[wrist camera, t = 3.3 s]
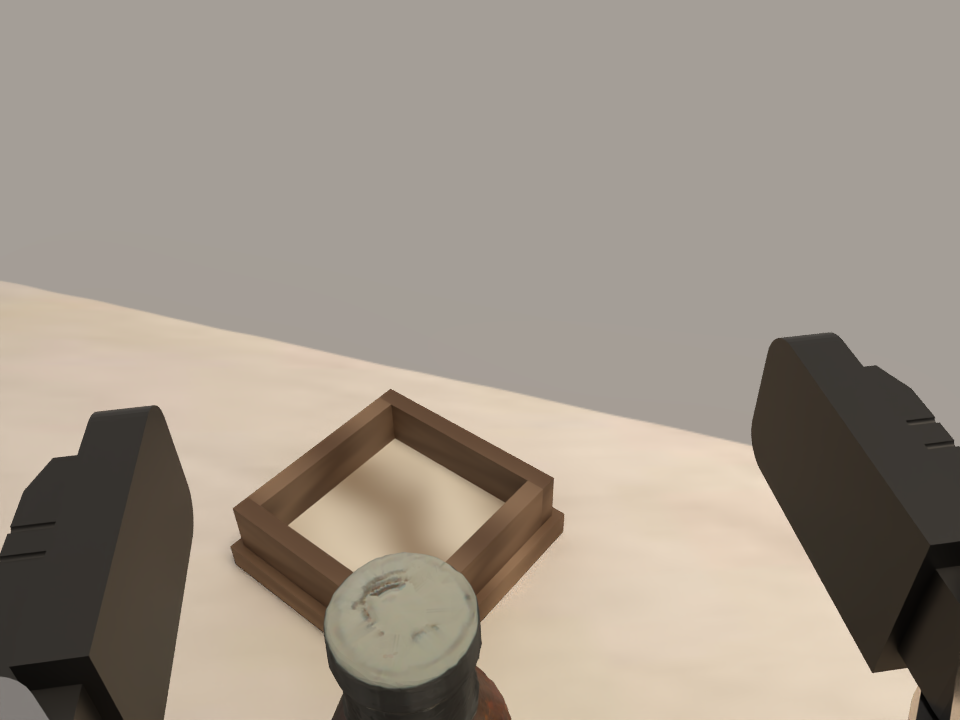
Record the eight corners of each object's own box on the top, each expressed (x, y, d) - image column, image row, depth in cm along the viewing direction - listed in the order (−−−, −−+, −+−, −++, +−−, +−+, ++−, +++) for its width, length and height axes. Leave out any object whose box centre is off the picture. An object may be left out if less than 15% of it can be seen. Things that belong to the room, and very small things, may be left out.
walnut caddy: (409, 699, 41) (402, 645, 38) (235, 563, 48) (219, 509, 45) (563, 531, 49) (566, 477, 46) (395, 434, 56) (390, 381, 53)
